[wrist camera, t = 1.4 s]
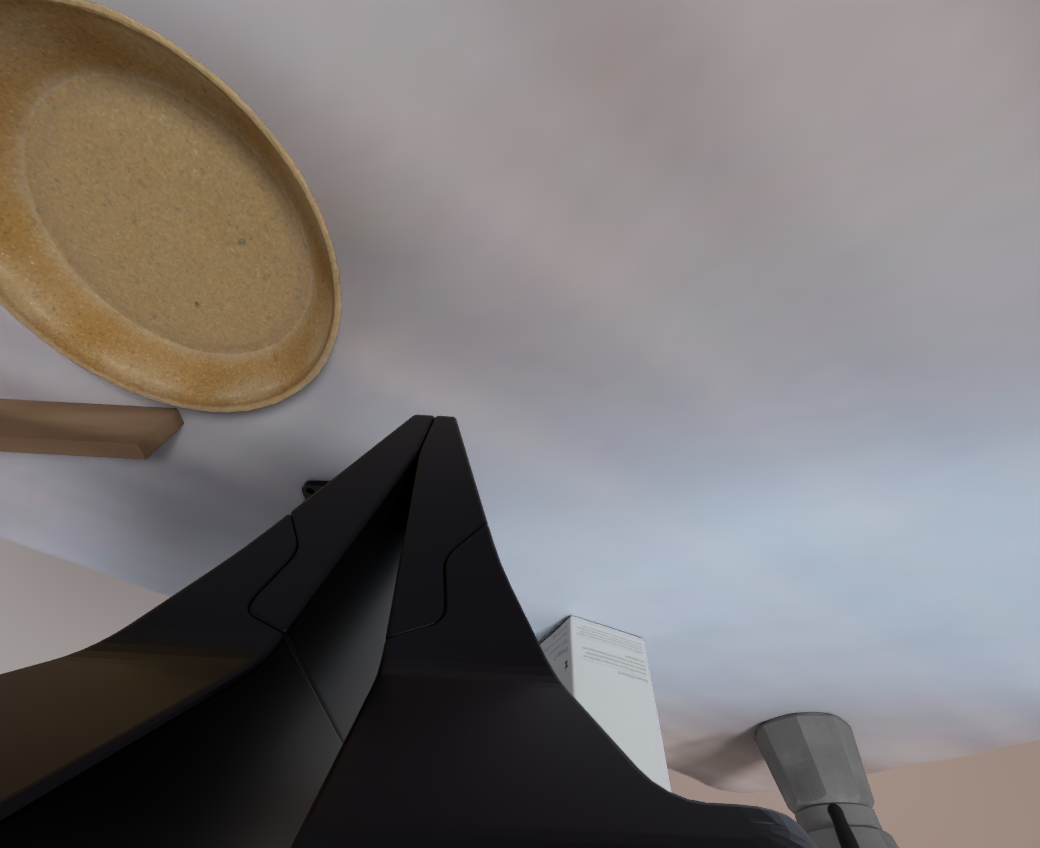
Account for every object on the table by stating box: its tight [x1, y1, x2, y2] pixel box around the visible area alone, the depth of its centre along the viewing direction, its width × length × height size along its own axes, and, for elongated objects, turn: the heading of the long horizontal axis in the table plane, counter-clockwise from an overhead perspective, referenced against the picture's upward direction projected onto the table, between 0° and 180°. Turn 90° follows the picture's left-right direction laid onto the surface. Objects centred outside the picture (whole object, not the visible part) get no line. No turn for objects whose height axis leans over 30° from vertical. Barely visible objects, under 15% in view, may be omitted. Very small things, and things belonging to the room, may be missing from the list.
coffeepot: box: [754, 712, 899, 848], centre depth 39 cm, size 15×9×18 cm, turn 26°
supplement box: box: [540, 616, 672, 793], centre depth 33 cm, size 7×7×13 cm
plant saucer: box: [0, 0, 342, 412], centre depth 18 cm, size 15×15×3 cm
